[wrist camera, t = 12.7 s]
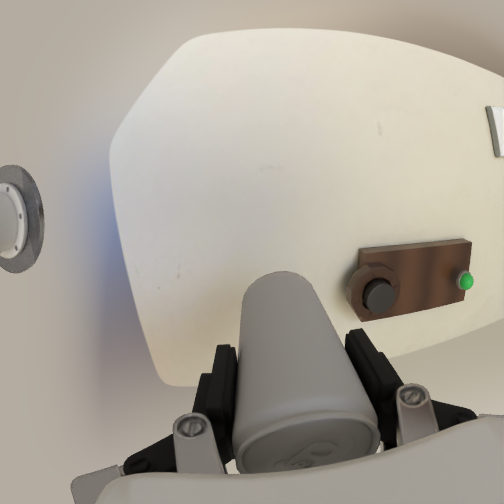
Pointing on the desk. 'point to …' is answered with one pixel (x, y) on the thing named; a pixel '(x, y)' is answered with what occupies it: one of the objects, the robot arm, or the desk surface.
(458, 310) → the desk surface
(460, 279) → the green lamp
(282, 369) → the beverage can
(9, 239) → the robot arm
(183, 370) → the desk surface
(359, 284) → the switch box
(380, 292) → the button
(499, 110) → the hard drive
